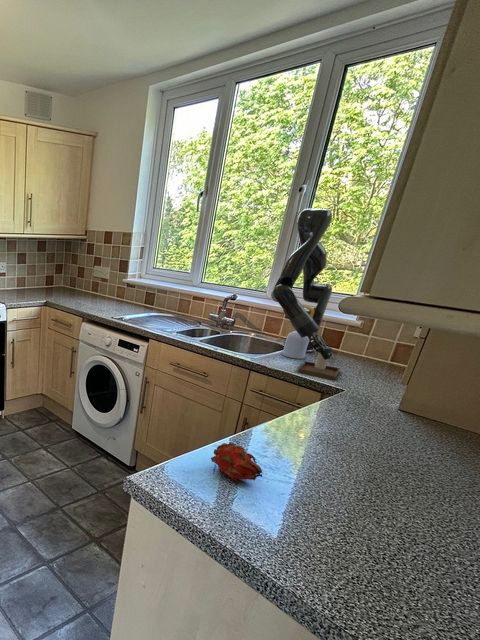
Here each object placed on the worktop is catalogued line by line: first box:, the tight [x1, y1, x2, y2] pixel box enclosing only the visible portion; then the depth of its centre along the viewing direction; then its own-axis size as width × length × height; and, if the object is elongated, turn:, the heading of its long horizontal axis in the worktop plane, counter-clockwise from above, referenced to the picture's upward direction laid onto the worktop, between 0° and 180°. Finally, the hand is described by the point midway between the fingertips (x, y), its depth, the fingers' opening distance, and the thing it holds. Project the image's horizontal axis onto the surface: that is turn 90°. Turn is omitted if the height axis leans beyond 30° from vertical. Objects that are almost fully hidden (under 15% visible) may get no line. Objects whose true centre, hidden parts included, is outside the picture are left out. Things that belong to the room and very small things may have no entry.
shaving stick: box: [314, 346, 333, 369], centre depth 173 cm, size 4×4×9 cm
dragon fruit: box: [210, 442, 263, 484], centre depth 96 cm, size 8×8×12 cm
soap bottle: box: [282, 304, 315, 360], centre depth 192 cm, size 9×9×25 cm
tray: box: [297, 360, 341, 381], centre depth 175 cm, size 15×13×2 cm
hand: (328, 357), depth 172 cm, fingers closed on shaving stick, 4 cm apart
